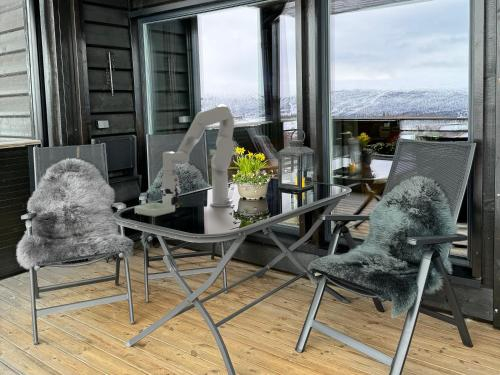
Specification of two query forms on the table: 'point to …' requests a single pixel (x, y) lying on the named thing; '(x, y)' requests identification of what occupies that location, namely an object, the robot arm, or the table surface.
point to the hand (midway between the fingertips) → (170, 201)
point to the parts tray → (155, 209)
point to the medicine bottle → (169, 198)
